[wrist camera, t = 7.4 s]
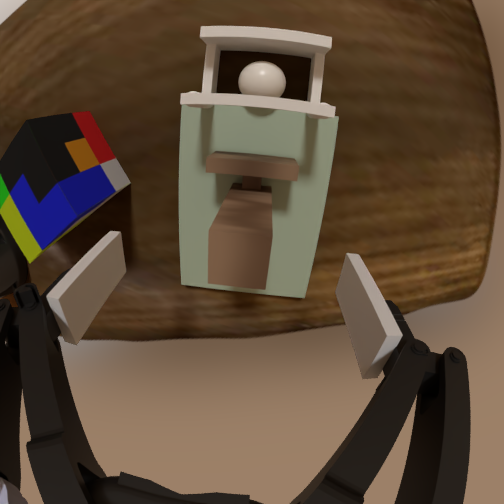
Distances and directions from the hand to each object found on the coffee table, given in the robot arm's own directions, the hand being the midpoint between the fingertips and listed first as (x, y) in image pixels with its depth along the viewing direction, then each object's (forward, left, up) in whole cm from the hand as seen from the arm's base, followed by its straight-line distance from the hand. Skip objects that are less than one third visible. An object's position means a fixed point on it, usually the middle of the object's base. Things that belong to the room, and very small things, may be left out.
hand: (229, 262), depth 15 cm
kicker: (0, +1, -11) cm, 12 cm away
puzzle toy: (-20, +2, -14) cm, 24 cm away
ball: (0, +11, -11) cm, 16 cm away
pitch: (0, +2, -13) cm, 13 cm away
